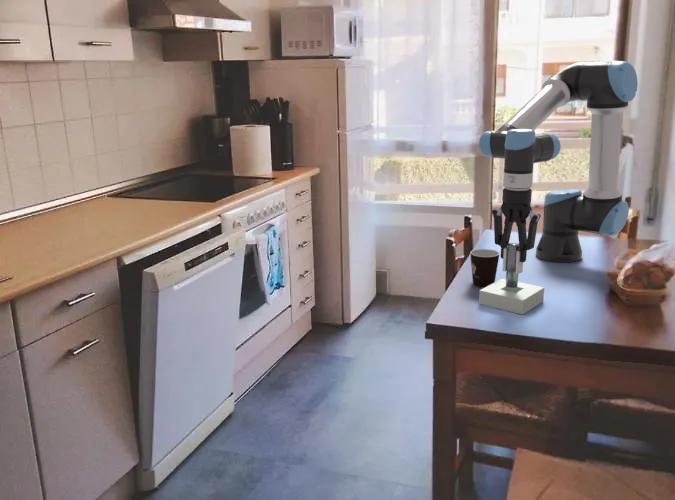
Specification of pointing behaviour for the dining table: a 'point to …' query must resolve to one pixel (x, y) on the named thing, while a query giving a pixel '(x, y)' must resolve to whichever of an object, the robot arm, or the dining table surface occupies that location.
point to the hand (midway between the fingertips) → (512, 271)
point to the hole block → (511, 296)
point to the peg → (512, 266)
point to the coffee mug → (484, 266)
